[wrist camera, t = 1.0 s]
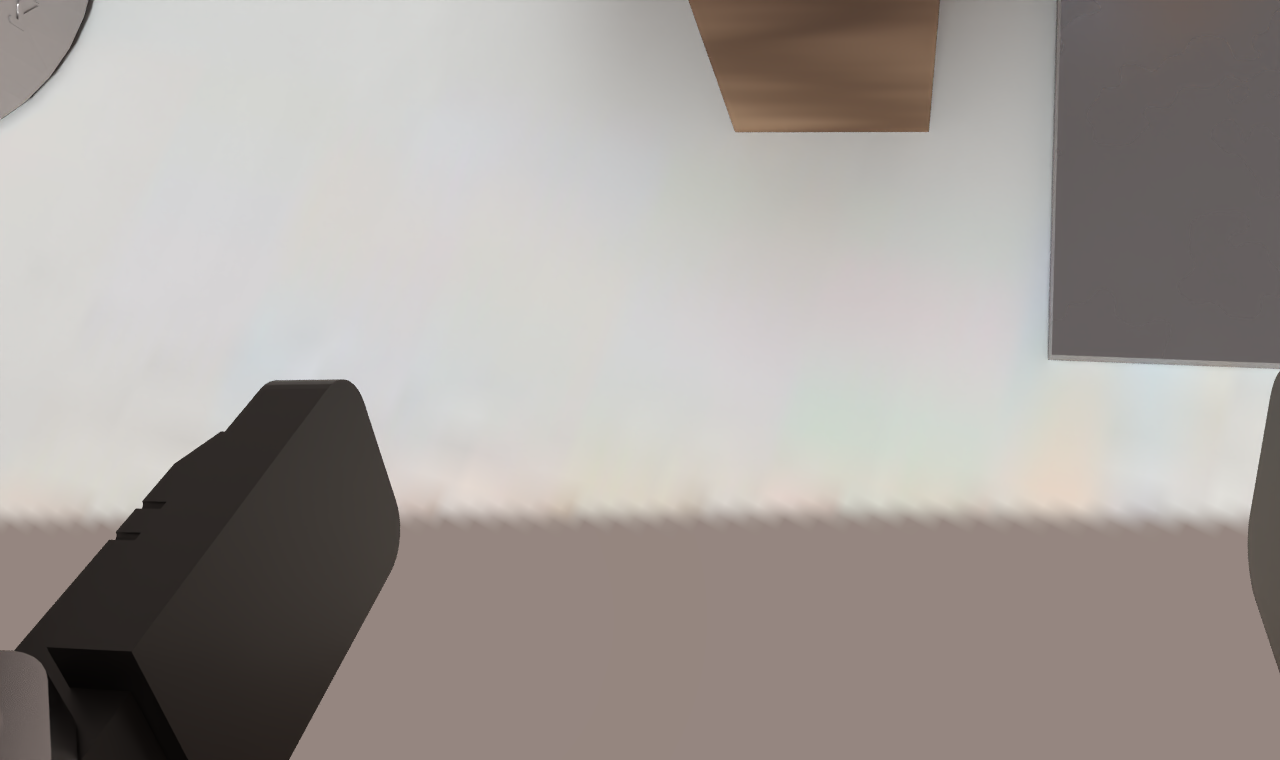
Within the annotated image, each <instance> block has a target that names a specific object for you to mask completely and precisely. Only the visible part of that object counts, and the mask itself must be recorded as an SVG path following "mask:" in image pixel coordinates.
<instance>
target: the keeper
mask: <svg viewBox="0 0 1280 760" xmlns="http://www.w3.org/2000/svg"><path fill="white" fill-rule="evenodd" d="M1048 360H1066V361H1091V362H1117V363H1143V364H1169V365H1195V366H1221V367H1247V368H1273V369H1280V0H1058V5H1057V43H1056V81H1055V118H1054V156H1053V193H1052V231H1051V268H1050V306H1049V344H1048Z"/></svg>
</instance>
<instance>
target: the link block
mask: <svg viewBox="0 0 1280 760" xmlns="http://www.w3.org/2000/svg"><path fill="white" fill-rule="evenodd" d="M689 3H690V6H691V9H692V12H693V14H694V17H695V20H696V23H697V26H698V28H699V31H700V34H701V37H702V40H703V43H704V45H705V48H706V51H707V54H708V57H709V60H710V62H711V65H712V68H713V71H714V74H715V76H716V79H717V82H718V85H719V88H720V91H721V93H722V96H723V99H724V102H725V105H726V107H727V110H728V113H729V116H730V119H731V122H732V124H733V127H734V130H735V132H929V122H930V110H931V98H932V86H933V74H934V62H935V51H936V39H937V27H938V15H939V3H940V0H689Z"/></svg>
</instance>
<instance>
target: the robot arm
mask: <svg viewBox="0 0 1280 760" xmlns="http://www.w3.org/2000/svg"><path fill="white" fill-rule="evenodd" d="M87 3H88V0H0V120H1V119H2V118H3V117H5V116H6V115H8V114H9V113H10V112H12V111H13V110H15V109H16V108H18V107H19V106H20V105H22V104H23V103H25V102H26V101H27V100H28V99H29V98H30V97H31V96H32V95H33V94H34V93H35V92H36V91H37V90H38V89H39V87H40V86H41V85H42V84H43V83H44V82H45V81H46V80H47V79H48V78H49V77H50V76H51V74H52V73H53V72H54V70H55V69H56V67H57V66H58V64H59V63H60V61H61V60H62V58H63V57H64V56H65V54H66V53H67V51H68V50H69V48H70V46H71V44H72V42H73V40H74V38H75V35H76V33H77V31H78V29H79V27H80V24H81V22H82V20H83V18H84V15H85V11H86V7H87ZM142 502H143V507H142V509H135V510H134V512H133V513H132V514H131V515H130V516H129V517H128V519H127V520H126V521H125V522H124V523H123V524H122V526H121V527H120V528H119V529H118V530H117V531H116V534H117V537H116V540H109V541H108V542H107V543H106V544H105V545H104V547H103V548H102V549H101V550H100V551H99V552H98V554H97V555H96V556H95V557H94V558H93V559H92V561H91V562H90V563H89V564H88V565H87V567H86V568H85V569H84V570H83V571H82V572H81V573H80V575H79V576H78V577H77V578H76V579H75V580H74V582H73V583H72V584H71V585H70V586H69V587H68V589H67V590H66V591H65V592H64V593H63V594H62V595H61V597H60V598H59V599H58V600H57V601H56V602H55V604H54V605H53V606H52V607H51V608H50V609H49V611H48V612H47V613H46V614H45V615H44V616H43V618H42V619H41V620H40V621H39V622H38V624H37V625H36V626H35V627H34V628H33V629H32V631H31V632H30V633H29V634H28V635H27V636H26V638H25V639H24V640H23V641H22V642H21V644H19V646H18V647H17V648H16V649H15V650H14V651H5V650H2V651H1V650H0V760H289V759H290V757H291V755H292V753H293V751H294V749H295V748H296V746H297V744H298V742H299V740H300V738H301V737H302V734H303V733H304V731H305V729H306V727H307V725H308V723H309V722H310V720H311V718H312V716H313V714H314V713H315V711H316V709H317V707H318V705H319V703H320V701H321V700H322V698H323V696H324V694H325V692H326V690H327V689H328V687H329V685H330V683H331V681H332V679H333V677H334V675H335V674H336V672H337V670H338V668H339V666H340V664H341V663H342V661H343V659H344V657H345V655H346V654H347V652H348V650H349V648H350V646H351V644H352V642H353V641H354V639H355V637H356V635H357V633H358V631H359V629H360V628H361V626H362V624H363V622H364V620H365V618H366V616H367V615H368V613H369V611H370V609H371V607H372V605H373V604H374V602H375V600H376V598H377V596H378V594H379V593H380V591H381V589H382V587H383V585H384V583H385V582H386V580H387V578H388V576H389V574H390V572H391V570H392V567H393V566H394V563H395V560H396V556H397V552H398V547H399V538H400V519H399V512H398V507H397V503H396V499H395V496H394V493H393V490H392V487H391V484H390V481H389V478H388V475H387V472H386V469H385V466H384V463H383V459H382V456H381V453H380V450H379V447H378V444H377V441H376V438H375V435H374V432H373V429H372V426H371V422H370V419H369V416H368V413H367V410H366V407H365V404H364V401H363V399H362V396H361V394H360V392H359V391H358V389H357V388H356V387H355V385H354V384H352V383H351V382H350V381H347V380H275V381H271V382H269V383H267V384H265V385H264V386H263V387H262V388H261V389H260V390H259V391H258V393H257V394H256V395H255V396H254V397H253V399H252V400H251V401H250V402H249V403H248V405H247V406H246V407H245V408H244V409H243V411H242V412H241V413H240V414H239V415H238V417H237V418H236V419H235V420H234V421H233V423H232V424H231V425H230V426H229V427H228V429H227V430H226V431H225V432H220V433H218V434H217V435H215V436H214V437H212V438H211V439H210V440H208V441H207V442H205V443H204V444H202V445H201V446H199V447H198V448H197V449H195V450H194V451H192V452H191V453H189V454H188V455H187V456H185V457H184V458H182V459H181V460H179V461H178V462H176V463H175V464H174V465H173V466H172V467H171V468H170V470H169V471H168V472H167V473H166V474H165V475H164V477H163V478H162V479H161V480H160V481H159V482H158V484H157V485H156V486H155V487H154V488H153V489H152V491H151V492H150V493H149V494H148V495H147V496H146V498H145V499H144V500H143V501H142ZM1248 560H1249V571H1250V578H1251V584H1252V588H1253V593H1254V596H1255V600H1256V603H1257V606H1258V609H1259V612H1260V615H1261V618H1262V621H1263V624H1264V627H1265V630H1266V633H1267V636H1268V639H1269V642H1270V645H1271V648H1272V651H1273V654H1274V657H1275V660H1276V663H1277V666H1278V669H1279V672H1280V372H1279V373H1278V375H1277V377H1276V379H1275V381H1274V384H1273V387H1272V391H1271V396H1270V402H1269V407H1268V413H1267V419H1266V425H1265V431H1264V437H1263V442H1262V448H1261V454H1260V460H1259V466H1258V471H1257V477H1256V483H1255V489H1254V495H1253V500H1252V506H1251V512H1250V518H1249V527H1248Z"/></svg>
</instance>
